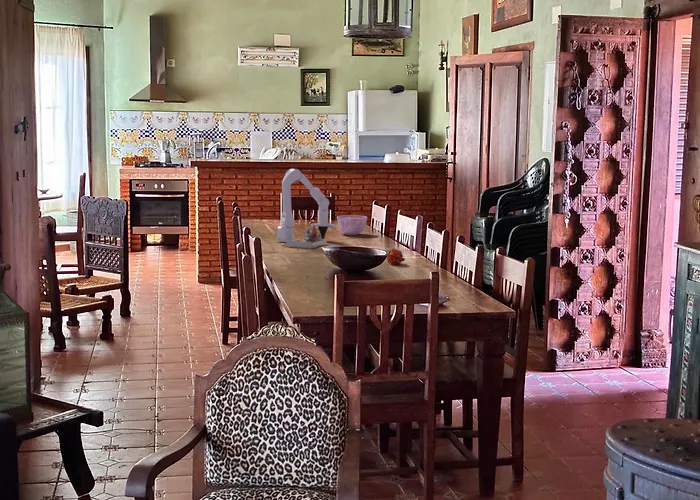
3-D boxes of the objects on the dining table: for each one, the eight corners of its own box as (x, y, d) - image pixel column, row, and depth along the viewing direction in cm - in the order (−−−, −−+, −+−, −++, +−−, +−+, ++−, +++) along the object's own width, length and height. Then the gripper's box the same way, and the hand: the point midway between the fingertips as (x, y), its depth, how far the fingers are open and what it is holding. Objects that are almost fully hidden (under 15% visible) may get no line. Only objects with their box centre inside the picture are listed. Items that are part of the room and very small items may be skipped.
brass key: (283, 246, 497) (283, 244, 497) (280, 245, 499) (280, 243, 499) (291, 245, 502) (291, 243, 502) (288, 244, 504) (288, 242, 504)
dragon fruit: (393, 264, 445) (398, 272, 434) (381, 255, 443) (386, 262, 431) (403, 252, 444) (409, 259, 433) (391, 243, 441) (396, 249, 430)
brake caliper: (321, 240, 504) (310, 224, 504) (307, 251, 507) (296, 234, 507) (327, 238, 515) (315, 222, 515) (313, 248, 518) (301, 232, 518)
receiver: (283, 246, 495) (283, 240, 494) (297, 242, 512) (297, 236, 511) (314, 248, 487) (314, 242, 487) (327, 244, 505) (327, 238, 504)
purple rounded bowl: (331, 235, 548) (331, 217, 546) (343, 231, 566) (343, 214, 565) (360, 237, 541) (360, 219, 539) (371, 233, 559) (371, 216, 557)
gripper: (310, 217, 518) (310, 239, 520) (333, 217, 516) (333, 240, 518) (312, 215, 525) (312, 237, 527) (335, 216, 523) (335, 238, 525)
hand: (323, 238), depth 523 cm, fingers closed
